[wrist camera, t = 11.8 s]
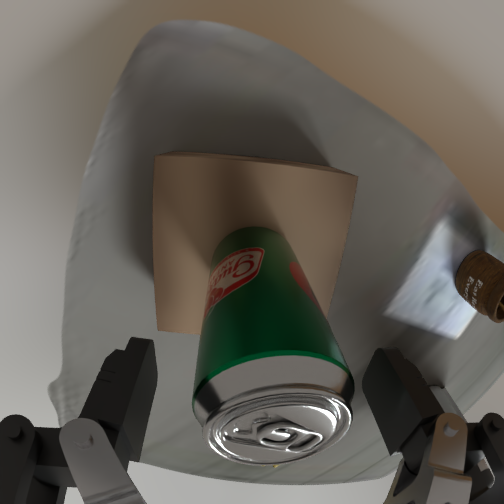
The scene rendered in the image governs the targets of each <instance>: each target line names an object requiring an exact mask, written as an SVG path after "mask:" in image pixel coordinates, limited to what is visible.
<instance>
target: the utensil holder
mask: <svg viewBox="0 0 504 504" xmlns="http://www.w3.org/2000/svg"><path fill="white" fill-rule="evenodd" d="M456 289H457V291H458V293H459V294H460V295H461V296H462V297H463V298H464V299H465V300H466V301H467V302H468V303H469V304H470V305H471V306H472V307H473V308H474V309H476V310H477V311H478V312H479V313H481V314H483V315H488V317H489V318H490V319H491V320H492V321H494V322H496V323H501V322H503V321H504V263H502V262H501V261H499V260H498V259H496V258H495V257H493V256H492V255H490V254H488V253H487V252H484V251H482V250H477V251H474V252H472V253H470V254H469V255H468V256H467V257H466V258H465V259H464V261H463V262H462V264H461V265H460V267H459V270H458V272H457V276H456Z"/></svg>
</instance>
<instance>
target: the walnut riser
mask: <svg viewBox="0 0 504 504" xmlns="http://www.w3.org/2000/svg"><path fill="white" fill-rule="evenodd" d="M357 181H358V176H355V175H352V174H350V173H347V172H344V171H341V170H338V169H335V168H332V167H327V166H321V165H314V164H307V163H300V162H293V161H285V160H277V159H269V158H260V157H250V156H239V155H227V154H213V153H197V152H174V151H172V152H168V153H164V154H160V155H156V156H154V173H153V268H154V289H155V304H156V317H157V328H158V331H167V332H177V333H187V334H199V335H201V327H202V320H203V314H204V307H205V300H206V294H207V287H208V281H209V275H210V268H211V262H212V257H213V254H214V251H215V249H216V247H217V246H218V244H219V243H220V242H221V241H222V240H223V239H224V238H225V237H226V236H227V235H229V234H230V233H232V232H233V231H236V230H238V229H241V228H245V227H252V226H257V227H265V228H268V229H271V230H274V231H275V232H277V233H279V234H280V235H282V236H283V237H284V238H285V239H286V240H287V241H288V242H289V244H290V246H291V247H292V249H293V251H294V253H295V255H296V257H297V259H298V261H299V263H300V265H301V267H302V269H303V271H304V273H305V275H306V277H307V280H308V282H309V284H310V286H311V288H312V290H313V292H314V294H315V296H316V298H317V300H318V302H319V304H320V307H321V309H322V311H323V313H324V315H325V317H326V318H327V315H328V311H329V307H330V304H331V300H332V296H333V293H334V289H335V285H336V281H337V277H338V273H339V269H340V265H341V260H342V256H343V252H344V247H345V243H346V238H347V233H348V229H349V224H350V219H351V214H352V209H353V203H354V198H355V192H356V187H357Z"/></svg>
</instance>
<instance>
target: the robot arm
mask: <svg viewBox="0 0 504 504" xmlns="http://www.w3.org/2000/svg"><path fill="white" fill-rule="evenodd" d="M157 378H158V372H157V364H156V356H155V348H154V342H153V340H151V339H143V338H136V337H131V338H130V340H129V342H128V344H127V346H126V349H125V351H124V350H118V349H116V350H115V351H113V352H112V353H111V354H110V355H109V356H108V357H106V359H105V361H104V363H103V365H102V367H101V371H99V373H98V376H97V378H96V381H95V382H94V384H93V386H92V389H91V391H90V393H89V395H88V398H87V400H86V402H85V405H84V407H83V409H82V412H81V414H80V416H79V417H78V418H77V419H73V420H71V421H69V422H67V423H66V424H65V425H64V426H63V427H62V428H44V427H34V426H33V424H32V423H31V422H30V420H29V419H27V418H26V417H24V416H22V415H10V416H7V417H6V418H4V419H3V420H2V421H1V422H0V504H64V499H65V494H66V490H67V487H77V488H78V490H79V492H80V494H81V496H82V499H83V501H84V504H147V503H146V502H145V500H144V499H143V498H142V496H141V494H140V493H139V491H138V490H137V488H136V486H135V485H134V483H133V482H132V480H131V478H130V477H129V475H128V473H127V468H128V463H129V460H130V461H134V462H139V460H140V455H141V451H142V446H143V441H144V437H145V432H146V428H147V424H148V419H149V415H150V411H151V407H152V403H153V399H154V395H155V391H156V387H157ZM362 388H363V392H364V394H365V397H366V399H367V401H368V404H369V406H370V408H371V410H372V413H373V415H374V417H375V420H376V422H377V425H378V427H379V429H380V432H381V434H382V437H383V439H384V441H385V444H386V446H387V449H388V451H389V454H390V456H394V455H397V454H401V453H402V455H403V458H402V459H401V461H400V463H399V466H398V469H397V472H396V475H395V477H394V480H393V483H392V485H391V488H390V491H389V493H388V496H387V498H386V500H385V502H384V503H383V504H504V419H503V418H502V417H501V416H500V415H498V414H496V413H488V414H486V415H485V416H484V417H483V418H482V420H481V421H480V422H479V423H468V422H467V421H466V419H465V418H464V416H463V414H462V413H461V411H460V410H459V408H458V407H457V405H456V404H455V402H454V401H453V399H452V397H451V396H450V394H449V393H448V391H447V390H446V388H444V389H441V388H440V387H439V386H430V387H429V386H427V383H426V381H425V380H424V378H422V375H421V374H420V372H419V371H418V369H417V367H416V366H415V365H413V364H412V363H411V362H410V361H408V360H407V359H405V358H404V357H403V355H402V354H401V352H400V351H399V349H398V348H396V347H390V348H378V349H377V350H376V351H375V353H374V355H373V357H372V359H371V361H370V364H369V366H368V368H367V370H366V372H365V374H364V377H363V380H362ZM484 457H486V459H487V461H488V463H489V465H490V467H491V469H492V472H493V474H494V476H495V481H494V478H493V475H492V473H491V471H490V469H489V468H488V466H487V464H486V462H485V460H484V459H483V458H484ZM493 482H494V484H493ZM492 484H493V486H492ZM491 486H492V487H491ZM490 487H491V488H490Z"/></svg>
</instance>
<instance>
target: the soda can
mask: <svg viewBox="0 0 504 504" xmlns="http://www.w3.org/2000/svg"><path fill="white" fill-rule="evenodd" d="M354 391H355V386H354V380H353V377H352V374H351V372H350V370H349V367H348V365H347V363H346V361H345V358H344V356H343V354H342V352H341V350H340V347H339V345H338V343H337V341H336V339H335V336H334V334H333V332H332V330H331V328H330V326H329V324H328V321H327V319H326V317H325V315H324V313H323V311H322V309H321V307H320V304H319V302H318V300H317V298H316V296H315V294H314V292H313V290H312V288H311V286H310V284H309V282H308V280H307V277H306V275H305V273H304V271H303V269H302V267H301V265H300V263H299V261H298V259H297V257H296V255H295V253H294V251H293V249H292V247H291V246H290V244H289V242H288V241H287V240H286V239H285V238H284V237H283V236H282V235H280V234H279V233H277V232H275V231H274V230H271V229H268V228H265V227H257V226H252V227H245V228H241V229H238V230H236V231H233V232H232V233H230V234H229V235H227V236H226V237H225V238H224V239H223V240H222V241H221V242H220V243H219V244H218V246H217V247H216V249H215V251H214V254H213V257H212V262H211V268H210V275H209V281H208V287H207V294H206V300H205V307H204V314H203V320H202V327H201V335H200V342H199V349H198V357H197V365H196V373H195V381H194V389H193V398H192V408H193V413H194V415H195V417H196V419H197V420H198V422H199V423H200V425H201V426H202V427H203V429H202V434H203V439H204V441H205V443H206V445H207V446H208V447H209V448H210V449H211V450H212V451H213V452H214V453H216V454H217V455H219V456H221V457H223V458H225V459H228V460H230V461H234V462H237V463H242V464H248V465H279V464H287V463H291V462H296V461H300V460H303V459H306V458H309V457H312V456H314V455H316V454H319V453H321V452H323V451H325V450H326V449H328V448H330V447H331V446H333V445H334V444H335V443H337V442H338V441H339V440H340V439H341V438H342V437H343V436H344V435H345V434H346V433H347V431H348V430H349V428H350V426H351V423H352V420H353V411H352V408H351V402H352V399H353V395H354Z"/></svg>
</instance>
